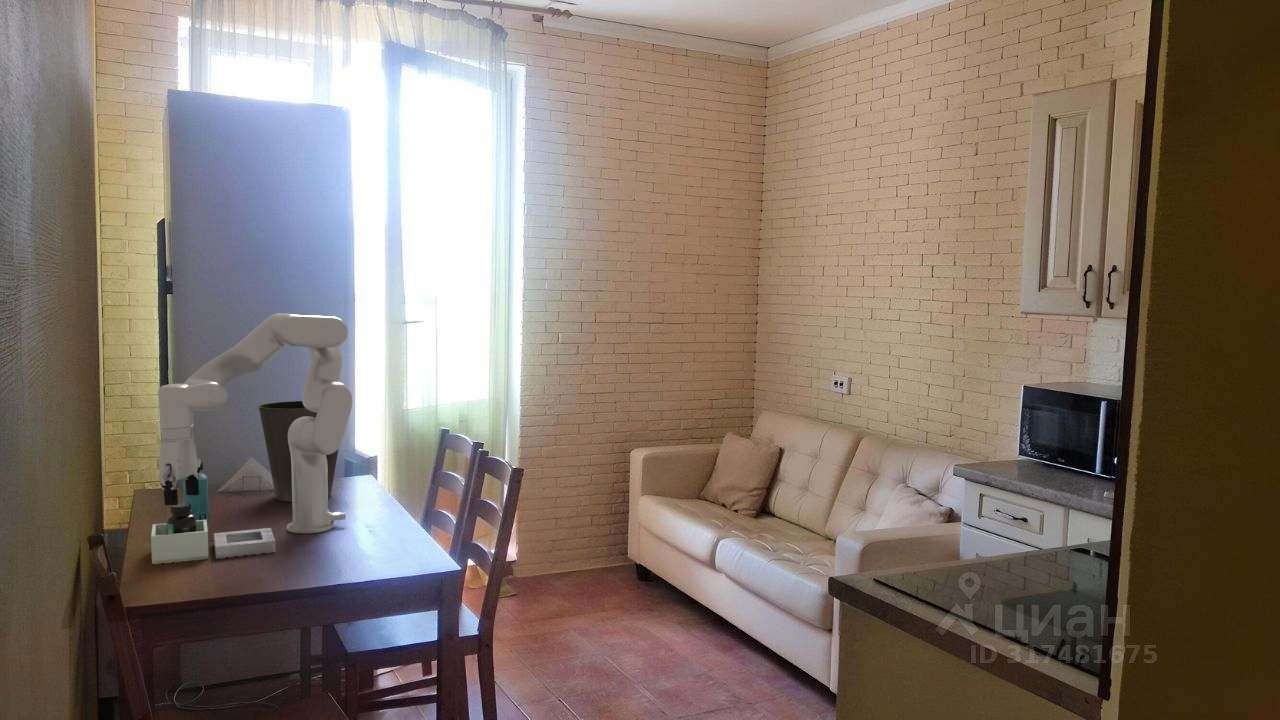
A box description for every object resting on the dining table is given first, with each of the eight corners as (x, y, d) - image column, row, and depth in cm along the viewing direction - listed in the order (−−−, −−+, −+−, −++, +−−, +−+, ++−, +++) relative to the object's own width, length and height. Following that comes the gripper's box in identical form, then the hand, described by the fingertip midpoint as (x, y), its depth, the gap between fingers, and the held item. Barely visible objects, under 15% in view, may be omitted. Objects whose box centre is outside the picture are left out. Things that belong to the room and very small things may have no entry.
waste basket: (338, 486, 322) (337, 398, 319) (356, 498, 305) (354, 405, 302) (254, 494, 307) (252, 402, 305) (267, 508, 290) (265, 410, 288)
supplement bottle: (169, 556, 237) (167, 509, 236) (165, 550, 242) (164, 503, 241) (199, 552, 240) (197, 506, 239) (194, 546, 246) (193, 500, 245)
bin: (207, 545, 249) (206, 519, 249) (208, 558, 238) (207, 531, 237) (153, 551, 244) (152, 524, 243) (152, 564, 233) (151, 536, 232)
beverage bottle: (199, 537, 257) (197, 464, 255) (178, 536, 258) (176, 463, 256) (215, 531, 263) (213, 460, 261) (194, 530, 264) (192, 459, 263)
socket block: (270, 538, 257) (270, 527, 257) (275, 552, 244) (275, 541, 244) (214, 544, 251) (214, 533, 250) (216, 558, 238) (215, 547, 238)
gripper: (182, 426, 247) (186, 491, 249) (143, 440, 230) (148, 509, 232) (210, 426, 247) (214, 491, 249) (172, 440, 230) (177, 509, 232)
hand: (182, 499), depth 240 cm, fingers open, 9 cm apart
